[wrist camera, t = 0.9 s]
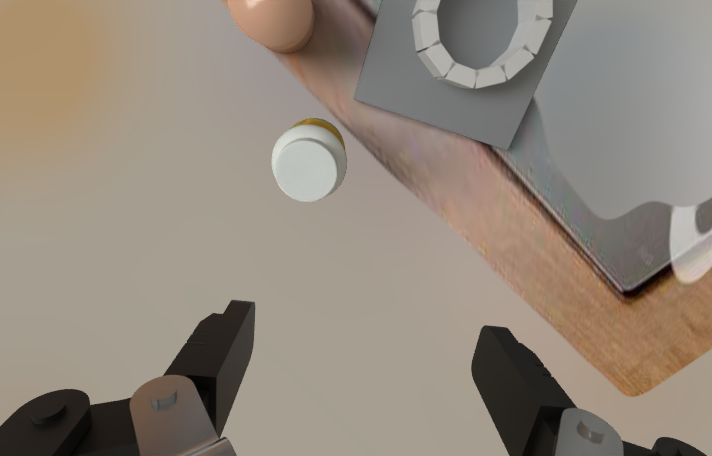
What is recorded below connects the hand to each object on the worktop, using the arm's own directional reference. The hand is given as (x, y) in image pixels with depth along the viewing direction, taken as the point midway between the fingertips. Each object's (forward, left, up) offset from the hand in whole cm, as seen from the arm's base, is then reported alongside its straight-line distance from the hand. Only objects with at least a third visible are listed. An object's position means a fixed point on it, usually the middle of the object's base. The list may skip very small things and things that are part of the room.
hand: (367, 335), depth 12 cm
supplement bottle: (-4, +2, -22) cm, 22 cm away
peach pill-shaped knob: (-9, +11, -22) cm, 26 cm away
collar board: (+5, +15, -22) cm, 27 cm away
